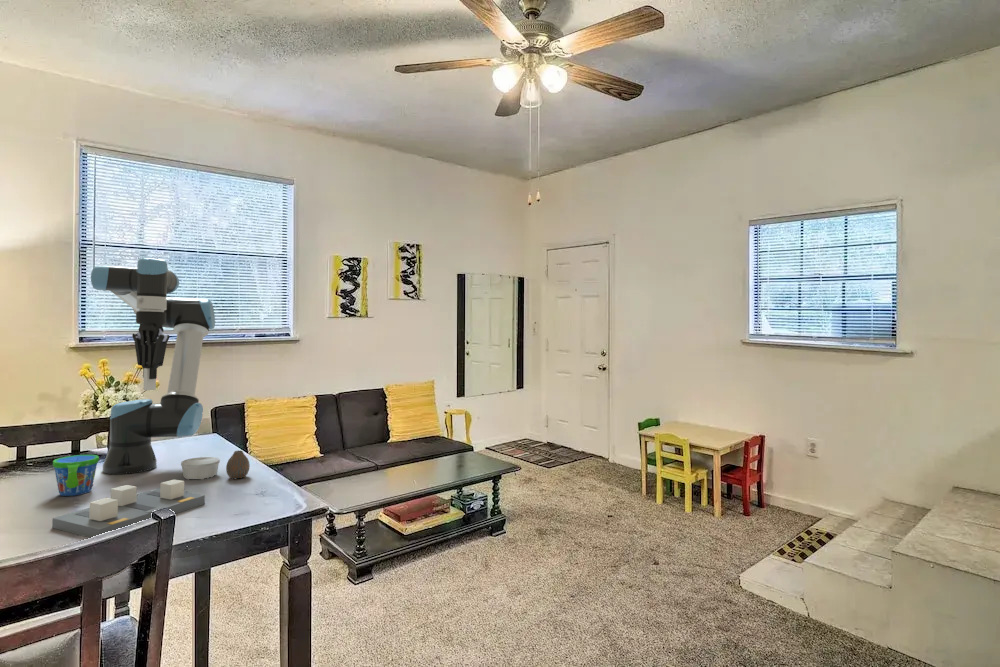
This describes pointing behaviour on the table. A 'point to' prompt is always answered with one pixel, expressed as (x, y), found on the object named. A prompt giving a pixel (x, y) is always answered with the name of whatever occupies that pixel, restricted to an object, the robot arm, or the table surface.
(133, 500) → the knob mid
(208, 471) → the ramekin
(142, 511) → the switch panel
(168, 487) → the knob far
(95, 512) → the knob near
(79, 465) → the snack cup
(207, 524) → the table surface
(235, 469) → the vase
